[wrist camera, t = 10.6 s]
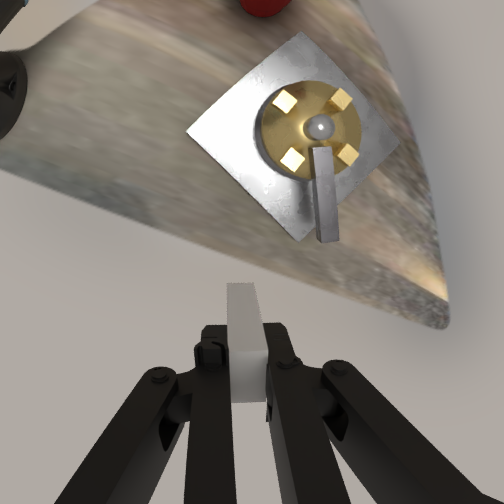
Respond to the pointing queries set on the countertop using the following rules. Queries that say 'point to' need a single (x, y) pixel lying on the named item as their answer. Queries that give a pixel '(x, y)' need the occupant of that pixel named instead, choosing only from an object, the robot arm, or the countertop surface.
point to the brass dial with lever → (313, 142)
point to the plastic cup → (263, 6)
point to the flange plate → (239, 141)
